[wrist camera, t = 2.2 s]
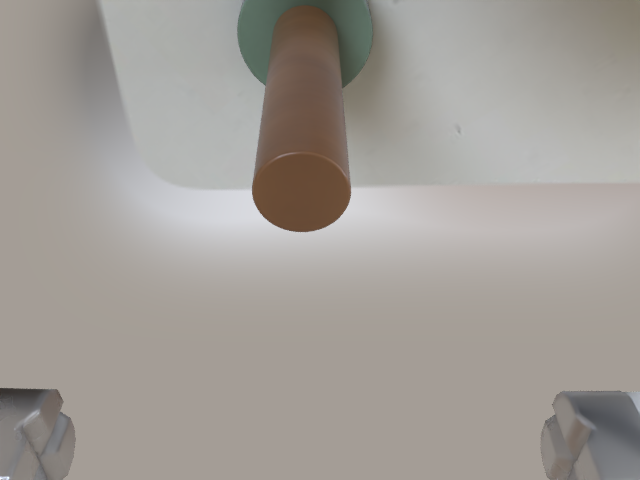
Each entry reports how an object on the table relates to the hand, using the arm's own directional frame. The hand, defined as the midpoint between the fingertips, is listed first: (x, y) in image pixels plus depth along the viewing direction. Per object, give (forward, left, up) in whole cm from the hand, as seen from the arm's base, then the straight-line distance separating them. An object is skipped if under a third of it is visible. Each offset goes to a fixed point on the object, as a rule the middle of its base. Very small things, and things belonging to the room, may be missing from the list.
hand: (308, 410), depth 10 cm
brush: (0, 0, -18) cm, 18 cm away
